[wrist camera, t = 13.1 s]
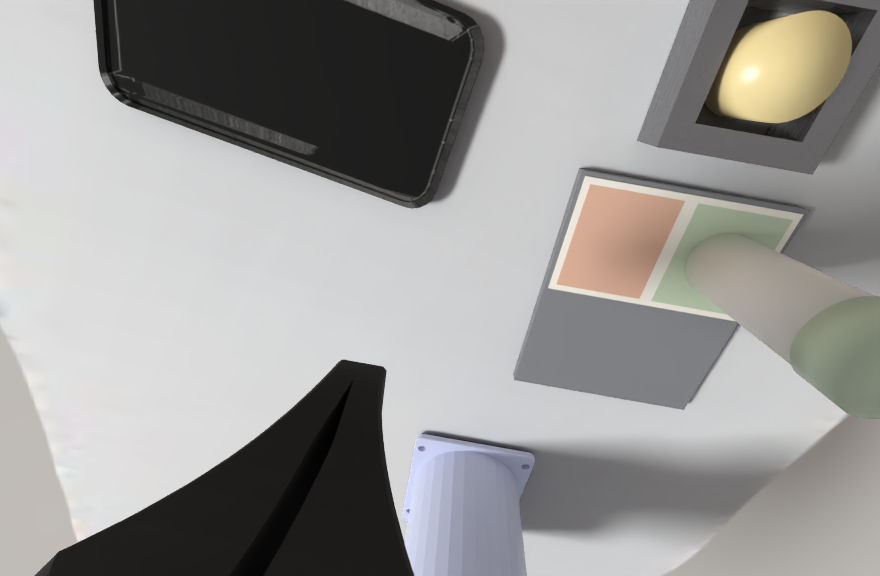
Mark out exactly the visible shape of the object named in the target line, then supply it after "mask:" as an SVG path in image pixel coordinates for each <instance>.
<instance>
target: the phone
mask: <svg viewBox="0 0 880 576" xmlns="http://www.w3.org/2000/svg"><path fill="white" fill-rule="evenodd" d="M94 12H95V25H96V38H97V50H98V63H99V70H100V75H101V78H102V80H103V82H104V84H105V86H106V87H107V89H108V90H109V91H110V93H111V94H112V95H113V96H114V97H115V98H116V99H118V100H119V101H120V102H122V103H124V104H126V105H127V106H130V107H133V108H135V109H138V110H141V111H144V112H146V113H149V114H152V115H155V116H157V117H160V118H163V119H165V120H168V121H171V122H174V123H176V124H179V125H182V126H185V127H187V128H190V129H193V130H196V131H198V132H201V133H204V134H207V135H209V136H212V137H215V138H217V139H220V140H223V141H226V142H228V143H231V144H234V145H237V146H239V147H242V148H245V149H248V150H250V151H253V152H256V153H259V154H261V155H264V156H267V157H269V158H272V159H275V160H278V161H280V162H283V163H286V164H289V165H291V166H294V167H297V168H300V169H302V170H305V171H308V172H310V173H313V174H316V175H319V176H321V177H324V178H327V179H330V180H332V181H335V182H338V183H341V184H343V185H346V186H349V187H352V188H354V189H357V190H360V191H362V192H365V193H368V194H371V195H373V196H376V197H379V198H382V199H384V200H387V201H390V202H393V203H395V204H398V205H401V206H403V207H408V208H420V207H422V206H424V205H426V204H428V203H429V202H430V201H431V200H432V199H433V197H434V195H435V193H436V191H437V188H438V185H439V183H440V180H441V177H442V174H443V171H444V168H445V165H446V162H447V159H448V157H449V154H450V151H451V148H452V145H453V142H454V139H455V136H456V133H457V131H458V128H459V125H460V122H461V119H462V116H463V113H464V110H465V108H466V105H467V102H468V99H469V96H470V93H471V90H472V87H473V84H474V82H475V79H476V76H477V73H478V70H479V67H480V64H481V61H482V57H483V52H484V42H483V36H482V33H481V30H480V28H479V26H478V25H477V24H476V22H475V21H474V20H473V19H472V18H471V17H469V16H468V15H466V14H465V13H462V12H460V11H457V10H455V9H453V8H450V7H448V6H445V5H443V4H441V3H438V2H436V1H434V0H94Z"/></svg>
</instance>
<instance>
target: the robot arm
mask: <svg viewBox="0 0 880 576" xmlns="http://www.w3.org/2000/svg"><path fill="white" fill-rule="evenodd" d="M385 378H386V369H385V368H384V367H382V366H376V365H371V364H365V363H359V362H354V361H348V360H341V361H340V362H338V363H337V364H336V366H335V367H334V368H333V369H332V370H331V371H330V372H329V373H328V374H327V375H326V376H325V377H324V378H323V379H322V380H321V381H320V382H319V383H318V384H317V385H316V386H315V387H314V388H313V389H312V390H311V391H310V392H309V393H308V394H307V395H306V396H305V397H304V398H302V399H301V400H300V401H299V402H298V403H297V404H296V405H295V406H294V407H293V408H292V409H290V410H289V411H288V412H287V413H286V414H285V415H283V416H282V417H281V418H280V419H279V420H277V421H276V422H275V423H274V424H273V425H271V426H270V427H269V428H268V429H267V430H265V431H264V432H263V433H261V434H260V435H259V436H258V437H256V438H255V439H254V440H252V441H251V442H250V443H248V444H247V445H246V446H244V447H243V448H241V449H240V450H239V451H237V452H236V453H235V454H233V455H232V456H230V457H229V458H227V459H226V460H224V461H223V462H221V463H220V464H218V465H217V466H215V467H214V468H212V469H211V470H209V471H208V472H206V473H205V474H203V475H201V476H200V477H198V478H197V479H195V480H193V481H192V482H190V483H189V484H187V485H185V486H184V487H182V488H180V489H178V490H177V491H175V492H173V493H171V494H170V495H168V496H166V497H164V498H163V499H161V500H159V501H157V502H156V503H154V504H152V505H150V506H148V507H147V508H145V509H143V510H141V511H140V512H138V513H136V514H134V515H132V516H130V517H128V518H126V519H125V520H123V521H121V522H118V523H116V524H114V525H112V526H110V527H108V528H106V529H104V530H102V531H100V532H98V533H96V534H94V535H92V536H90V537H88V538H86V539H84V540H82V541H80V542H78V543H76V544H74V545H72V546H70V547H68V548H66V549H63V550H61V551H59V552H58V553H57V554H56V555H55V556H54V557H53V558H52V559H51V560H50V561H49V562H48V563H47V564H46V565H45V566H44V567H43V568H42V569H41V570H40V571H39V572H38V573H37V574H36V575H35V576H527V573H526V563H525V554H524V545H523V535H522V526H521V516H520V507H519V500H520V498H521V495H522V493H523V490H524V488H525V485H526V483H527V481H528V478H529V476H530V473H531V471H532V469H533V466H534V464H535V457H534V455H533V454H532V453H529V452H523V451H518V450H512V449H506V448H501V447H495V446H489V445H484V444H478V443H472V442H467V441H461V440H455V439H450V438H444V437H438V436H432V435H427V434H420V435H418V436H417V437H416V441H415V447H414V452H413V458H412V463H411V469H410V474H409V480H408V485H407V491H406V496H405V502H404V507H403V513H402V520H403V521H405V522H407V523H408V525H407V531H406V538H405V544H404V540H403V536H402V533H401V529H400V525H399V521H398V517H397V514H396V510H395V506H394V501H393V497H392V492H391V487H390V482H389V477H388V471H387V465H386V458H385V451H384V442H383V432H382V405H383V396H384V387H385ZM422 446H423V447H422Z"/></svg>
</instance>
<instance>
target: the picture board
mask: <svg viewBox="0 0 880 576" xmlns="http://www.w3.org/2000/svg"><path fill="white" fill-rule="evenodd" d="M809 211H810V210H807V209H804V208H801V207H796V206H791V205H785V204H780V203H774V202H768V201H763V200H757V199H751V198H746V197H740V196H734V195H729V194H723V193H717V192H712V191H706V190H700V189H695V188H689V187H683V186H678V185H672V184H666V183H661V182H655V181H649V180H644V179H638V178H633V177H627V176H621V175H616V174H610V173H604V172H599V171H593V170H587V169H582V168H579V171H578V174H577V177H576V181H575V184H574V187H573V190H572V193H571V196H570V199H569V202H568V205H567V209H566V212H565V215H564V218H563V221H562V224H561V227H560V230H559V234H558V237H557V240H556V243H555V246H554V249H553V252H552V255H551V259H550V262H549V265H548V268H547V271H546V274H545V277H544V280H543V284H542V287H541V290H540V293H539V296H538V299H537V302H536V305H535V309H534V312H533V315H532V318H531V321H530V324H529V327H528V330H527V333H526V337H525V340H524V343H523V346H522V349H521V352H520V355H519V358H518V362H517V365H516V368H515V371H514V380H518V381H524V382H529V383H535V384H541V385H546V386H552V387H558V388H563V389H569V390H575V391H580V392H586V393H592V394H597V395H603V396H609V397H614V398H620V399H626V400H631V401H637V402H643V403H648V404H654V405H660V406H665V407H671V408H677V409H682V410H684V409H685V407H686V405H687V404H688V402H689V401H690V399H691V397H692V396H693V394H694V393H695V391H696V390H697V388H698V386H699V385H700V383H701V382H702V380H703V378H704V377H705V375H706V374H707V372H708V371H709V369H710V367H711V366H712V364H713V363H714V361H715V359H716V358H717V356H718V355H719V353H720V352H721V350H722V348H723V347H724V345H725V344H726V342H727V340H728V339H729V337H730V336H731V334H732V332H733V331H734V329H735V328H736V326H737V325H738V323H737V322H736V321H735V320H734V319H732V318H731V317H730V316H729V315H727V314H726V313H725V312H723V311H722V310H721V309H720V308H718V307H717V306H716V305H714V304H713V303H712V302H711V301H709V300H708V299H707V298H706V297H704V296H703V295H702V294H700V293H699V292H698V291H697V290H695V289H694V288H693V287H692V286H690V284H689V283H688V282H687V280H686V277H685V272H684V269H685V263H686V260H687V258H688V256H689V254H690V253H691V251H692V250H693V249H694V248H695V247H696V246H697V245H698V244H699V243H701V242H702V241H703V240H705V239H707V238H709V237H711V236H713V235H716V234H720V233H736V234H740V235H742V236H744V237H747V238H749V239H751V240H753V241H755V242H757V243H760V244H762V245H764V246H766V247H768V248H771V249H773V250H775V251H777V252H779V253H781V254H782V253H783V252H784V250H785V249H786V247H787V245H788V244H789V242H790V241H791V239H792V237H793V236H794V234H795V233H796V231H797V230H798V228H799V226H800V225H801V223H802V222H803V220H804V218H805V217H806V215H807V214H808V212H809Z"/></svg>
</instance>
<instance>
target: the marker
mask: <svg viewBox="0 0 880 576" xmlns="http://www.w3.org/2000/svg"><path fill="white" fill-rule="evenodd" d="M684 272H685V277H686V280H687V282H688V283H689V284H690V286H692V287H693V288H694V289H695V290H697V291H698V292H699V293H700V294H702V295H703V296H704V297H706V298H707V299H708V300H709V301H711V302H712V303H713V304H714V305H716V306H717V307H718V308H720V309H721V310H722V311H723V312H725V313H726V314H727V315H729V316H730V317H731V318H732V319H734V320H735V321H736V322H737V323H739V324H740V325H741V326H743V327H744V328H745V329H746V330H748V331H749V332H750V333H751V334H753V335H754V336H755V337H757V338H758V339H759V340H760V341H762V342H763V343H764V344H765V345H767V346H768V347H769V348H771V349H772V350H773V351H774V352H776V353H777V354H778V355H779V356H781V357H782V358H783V359H785V360H786V361H787V362H788V363H790V364H791V365H792V367H793V369H794V370H795V372H796V373H797V374H798V375H800V376H801V377H802V378H803V379H805V380H806V381H807V382H808V383H810V384H811V385H812V386H813V387H815V388H816V389H817V390H818V391H820V392H821V393H822V394H823V395H825V396H826V397H827V398H828V399H830V400H831V401H832V402H833V403H835V404H836V405H837V406H838V407H840V408H841V409H842V410H843V411H845V412H846V413H848V414H850V415H852V416H855V417H859V418H863V419H880V297H878V296H873V295H871V294H869V293H866V292H864V291H862V290H860V289H858V288H855V287H853V286H851V285H849V284H847V283H845V282H842V281H840V280H838V279H836V278H834V277H831V276H829V275H827V274H825V273H823V272H821V271H818V270H816V269H814V268H812V267H810V266H808V265H805V264H803V263H801V262H799V261H797V260H794V259H792V258H790V257H788V256H786V255H784V254H781V253H779V252H777V251H775V250H773V249H771V248H768V247H766V246H764V245H762V244H760V243H757V242H755V241H753V240H751V239H749V238H747V237H744V236H742V235H740V234H736V233H720V234H716V235H713V236H711V237H709V238H707V239H705V240H703V241H702V242H701V243H699V244H698V245H697V246H696V247H695V248H694V249H693V250H692V251H691V253H690V254H689V256H688V258H687V260H686V263H685V269H684Z"/></svg>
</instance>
